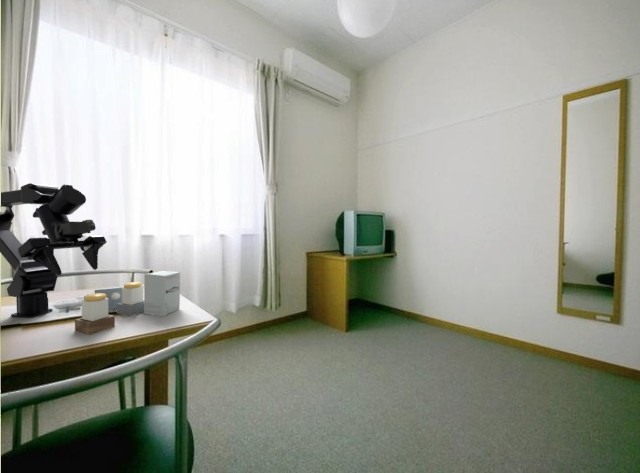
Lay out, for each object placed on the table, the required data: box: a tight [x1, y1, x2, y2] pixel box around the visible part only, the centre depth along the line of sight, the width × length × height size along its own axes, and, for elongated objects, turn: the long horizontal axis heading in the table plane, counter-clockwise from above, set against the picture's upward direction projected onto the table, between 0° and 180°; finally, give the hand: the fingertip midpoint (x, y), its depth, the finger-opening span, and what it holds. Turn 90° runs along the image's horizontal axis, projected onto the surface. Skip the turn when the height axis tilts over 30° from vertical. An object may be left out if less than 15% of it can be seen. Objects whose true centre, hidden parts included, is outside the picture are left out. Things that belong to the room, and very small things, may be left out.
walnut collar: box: [74, 314, 116, 336], centre depth 75 cm, size 6×6×3 cm
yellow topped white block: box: [121, 281, 144, 305], centre depth 89 cm, size 5×5×6 cm
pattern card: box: [94, 286, 123, 312], centre depth 90 cm, size 2×7×7 cm, turn 126°
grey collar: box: [116, 299, 144, 317], centre depth 89 cm, size 6×6×3 cm
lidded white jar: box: [81, 293, 109, 321], centre depth 75 cm, size 5×5×6 cm
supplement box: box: [143, 270, 181, 317], centre depth 90 cm, size 7×7×13 cm
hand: (79, 271), depth 79 cm, fingers open, 9 cm apart
